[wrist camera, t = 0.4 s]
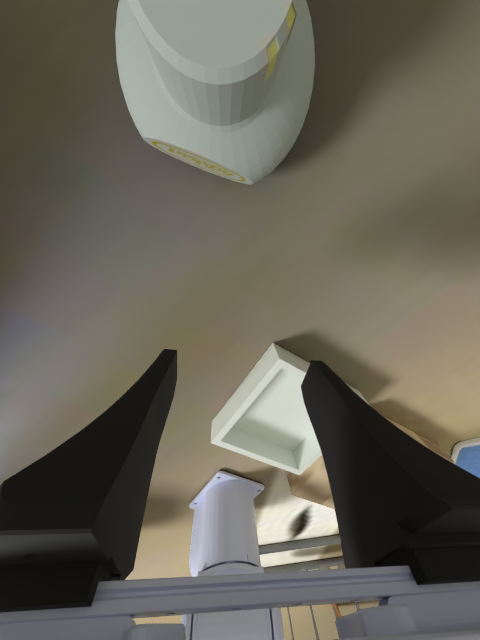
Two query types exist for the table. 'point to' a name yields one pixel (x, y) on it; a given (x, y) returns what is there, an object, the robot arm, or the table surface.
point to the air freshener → (218, 79)
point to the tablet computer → (468, 456)
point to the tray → (271, 414)
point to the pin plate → (316, 479)
